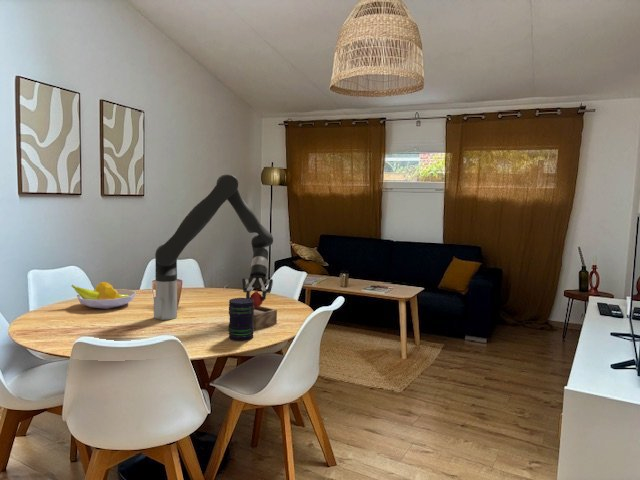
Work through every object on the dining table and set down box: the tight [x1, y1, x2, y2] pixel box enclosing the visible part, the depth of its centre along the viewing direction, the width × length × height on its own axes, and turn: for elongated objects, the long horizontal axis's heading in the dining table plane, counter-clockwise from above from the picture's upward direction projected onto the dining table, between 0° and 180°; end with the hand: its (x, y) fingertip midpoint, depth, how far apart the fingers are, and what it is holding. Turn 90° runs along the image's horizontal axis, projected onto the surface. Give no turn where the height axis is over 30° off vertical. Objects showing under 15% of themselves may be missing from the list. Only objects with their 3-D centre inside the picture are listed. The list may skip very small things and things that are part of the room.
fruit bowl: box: [71, 281, 137, 310], centre depth 228 cm, size 28×27×11 cm
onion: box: [250, 290, 264, 308], centre depth 202 cm, size 6×6×8 cm
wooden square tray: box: [253, 305, 278, 331], centre depth 202 cm, size 13×13×6 cm
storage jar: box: [228, 297, 255, 342], centre depth 182 cm, size 10×10×15 cm
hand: (255, 299), depth 200 cm, fingers closed on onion, 5 cm apart
